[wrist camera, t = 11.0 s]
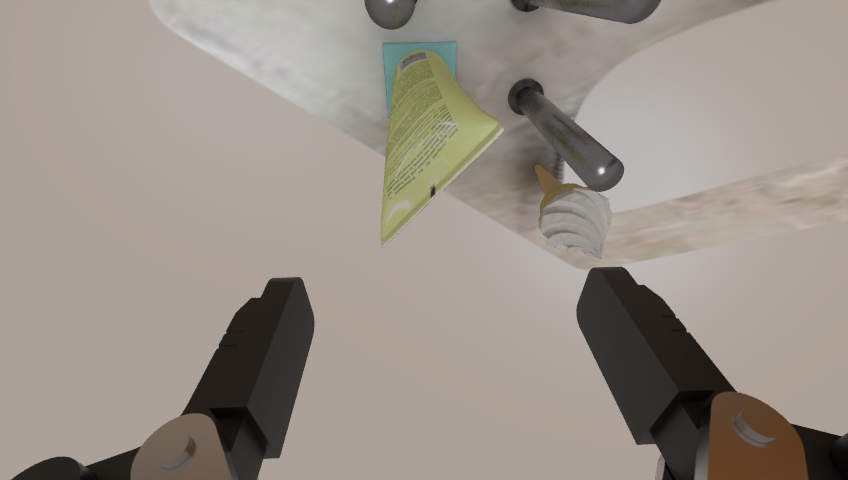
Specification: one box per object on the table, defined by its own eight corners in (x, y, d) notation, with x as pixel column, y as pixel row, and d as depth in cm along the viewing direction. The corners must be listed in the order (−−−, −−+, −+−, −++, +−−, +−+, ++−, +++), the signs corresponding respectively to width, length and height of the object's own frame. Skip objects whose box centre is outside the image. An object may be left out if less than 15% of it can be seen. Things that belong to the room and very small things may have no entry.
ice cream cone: (516, 196, 38) (567, 297, 26) (503, 152, 35) (553, 242, 23) (568, 177, 37) (645, 273, 25) (558, 129, 34) (643, 212, 22)
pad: (455, 41, 29) (456, 42, 28) (453, 115, 32) (453, 117, 32) (383, 43, 29) (382, 44, 28) (388, 117, 32) (388, 119, 32)
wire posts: (565, -38, 26) (719, -56, 13) (538, 112, 32) (622, 198, 20) (377, -34, 26) (345, -49, 13) (388, 117, 32) (375, 206, 19)
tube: (449, 117, 32) (488, 248, 16) (393, 117, 32) (379, 251, 16) (452, 46, 28) (506, 128, 13) (390, 47, 28) (368, 129, 13)
